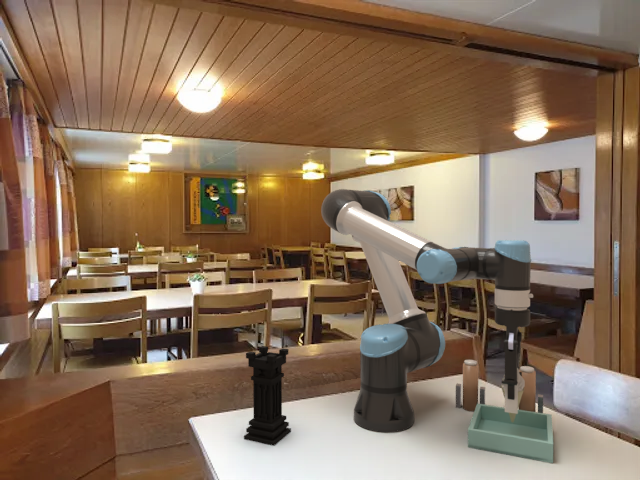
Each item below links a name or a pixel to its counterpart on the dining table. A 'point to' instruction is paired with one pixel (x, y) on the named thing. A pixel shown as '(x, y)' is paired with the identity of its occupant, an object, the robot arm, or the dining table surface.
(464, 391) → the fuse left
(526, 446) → the tray
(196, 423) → the dining table surface
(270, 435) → the chess piece
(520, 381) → the ice cream cone
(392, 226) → the robot arm
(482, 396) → the clip row
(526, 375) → the cylinder
